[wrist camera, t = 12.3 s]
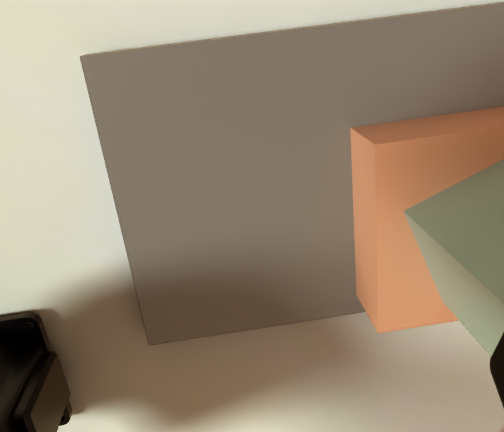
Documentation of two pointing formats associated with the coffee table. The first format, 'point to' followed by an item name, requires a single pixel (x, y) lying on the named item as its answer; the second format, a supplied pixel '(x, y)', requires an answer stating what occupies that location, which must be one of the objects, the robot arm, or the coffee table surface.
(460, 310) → the tall brick
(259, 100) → the baseplate
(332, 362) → the coffee table surface
